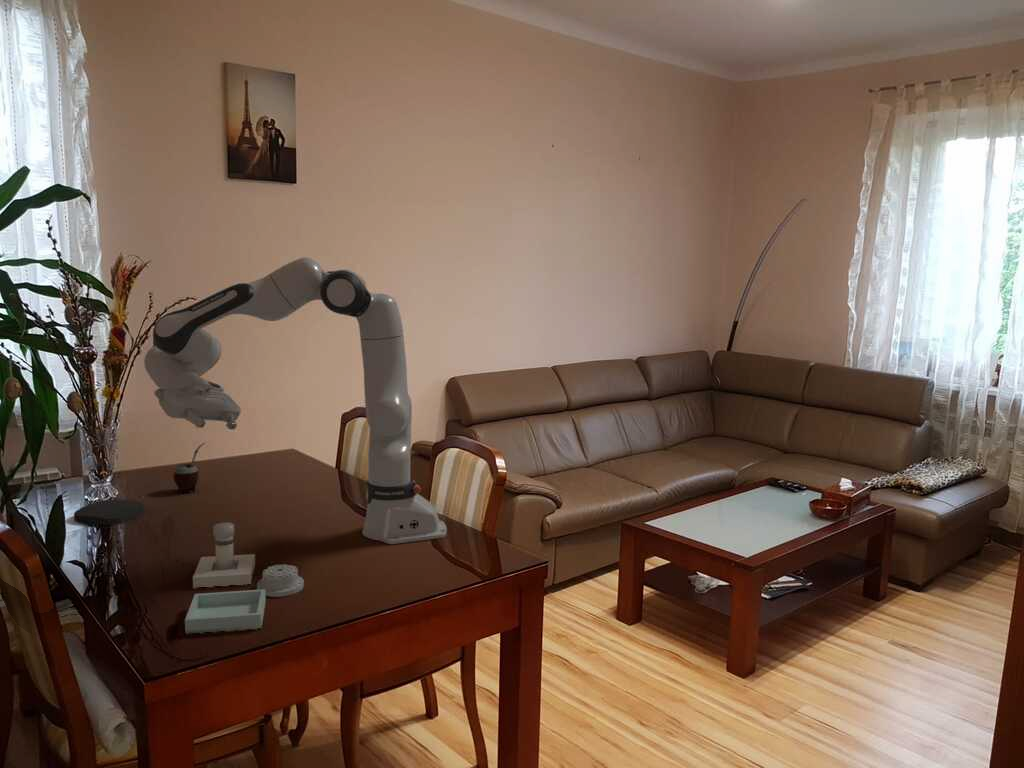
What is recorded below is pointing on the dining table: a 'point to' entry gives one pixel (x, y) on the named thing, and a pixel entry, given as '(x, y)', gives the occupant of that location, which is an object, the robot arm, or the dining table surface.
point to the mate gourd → (187, 475)
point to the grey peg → (224, 546)
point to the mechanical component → (280, 581)
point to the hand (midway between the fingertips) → (218, 426)
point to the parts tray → (226, 611)
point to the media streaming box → (108, 512)
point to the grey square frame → (224, 572)
